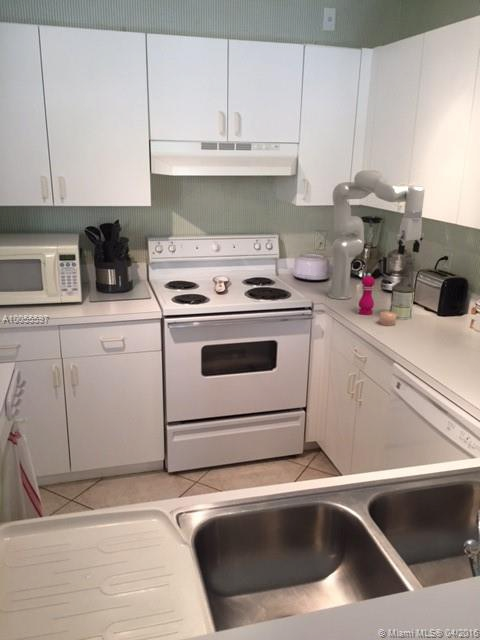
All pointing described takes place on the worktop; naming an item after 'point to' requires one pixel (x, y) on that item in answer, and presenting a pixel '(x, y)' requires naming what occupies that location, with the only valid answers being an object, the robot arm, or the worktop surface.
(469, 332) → the worktop surface
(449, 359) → the worktop surface
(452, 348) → the worktop surface
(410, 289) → the green cylindrical container
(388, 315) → the pale pink round lump
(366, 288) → the pepper mill
